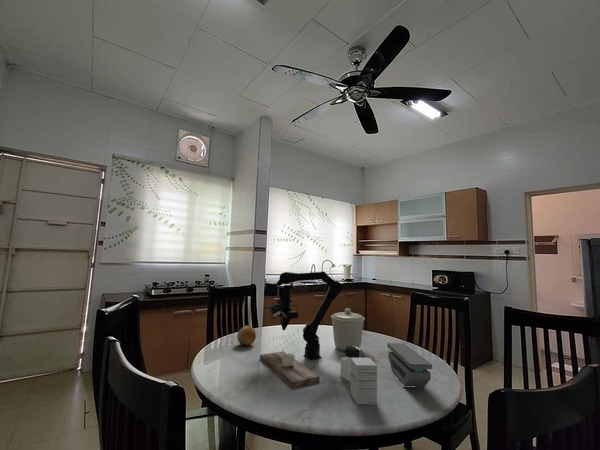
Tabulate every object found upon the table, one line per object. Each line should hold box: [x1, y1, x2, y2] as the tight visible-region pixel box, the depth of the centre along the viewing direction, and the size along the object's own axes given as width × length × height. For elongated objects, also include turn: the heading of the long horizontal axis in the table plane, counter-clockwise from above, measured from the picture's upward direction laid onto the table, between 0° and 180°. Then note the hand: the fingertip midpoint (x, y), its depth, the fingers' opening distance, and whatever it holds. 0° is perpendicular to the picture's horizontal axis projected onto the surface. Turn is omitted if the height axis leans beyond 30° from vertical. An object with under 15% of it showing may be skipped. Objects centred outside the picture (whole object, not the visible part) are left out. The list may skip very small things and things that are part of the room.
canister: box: [330, 307, 366, 352], centre depth 152 cm, size 18×18×21 cm
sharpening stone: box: [386, 342, 433, 388], centre depth 114 cm, size 25×8×11 cm, turn 1°
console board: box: [259, 350, 321, 389], centre depth 120 cm, size 12×32×2 cm, turn 30°
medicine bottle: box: [340, 346, 361, 383], centre depth 114 cm, size 7×7×12 cm
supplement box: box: [350, 357, 378, 405], centre depth 98 cm, size 7×7×13 cm
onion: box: [236, 325, 257, 347], centre depth 151 cm, size 10×10×10 cm
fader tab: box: [282, 352, 295, 367], centre depth 120 cm, size 4×3×4 cm
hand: (283, 330), depth 138 cm, fingers closed
